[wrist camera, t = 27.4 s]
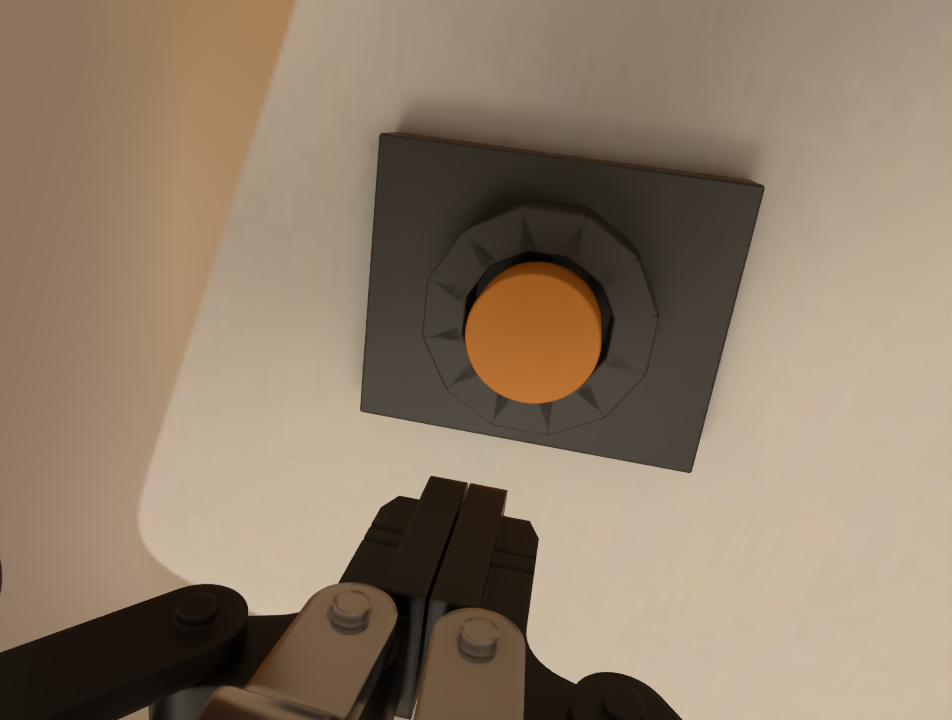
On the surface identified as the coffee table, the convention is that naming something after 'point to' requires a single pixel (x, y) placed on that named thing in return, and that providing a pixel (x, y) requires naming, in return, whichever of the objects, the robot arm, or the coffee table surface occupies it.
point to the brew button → (534, 332)
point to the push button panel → (574, 247)
